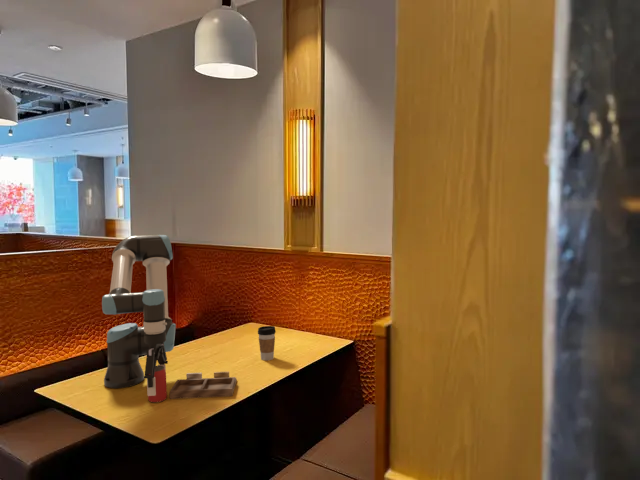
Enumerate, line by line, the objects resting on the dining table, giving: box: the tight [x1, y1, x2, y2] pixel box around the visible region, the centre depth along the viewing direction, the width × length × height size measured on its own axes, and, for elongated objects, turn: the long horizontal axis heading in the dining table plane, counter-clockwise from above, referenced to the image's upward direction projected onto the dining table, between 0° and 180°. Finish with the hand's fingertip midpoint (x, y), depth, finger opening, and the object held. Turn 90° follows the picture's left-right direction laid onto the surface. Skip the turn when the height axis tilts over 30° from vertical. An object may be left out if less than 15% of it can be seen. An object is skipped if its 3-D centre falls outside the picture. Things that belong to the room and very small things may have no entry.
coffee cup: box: [257, 325, 277, 361], centre depth 211 cm, size 8×8×15 cm
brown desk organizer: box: [169, 371, 238, 400], centre depth 175 cm, size 23×16×4 cm
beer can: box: [147, 365, 168, 404], centre depth 166 cm, size 7×7×12 cm
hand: (157, 388), depth 166 cm, fingers open, 13 cm apart
